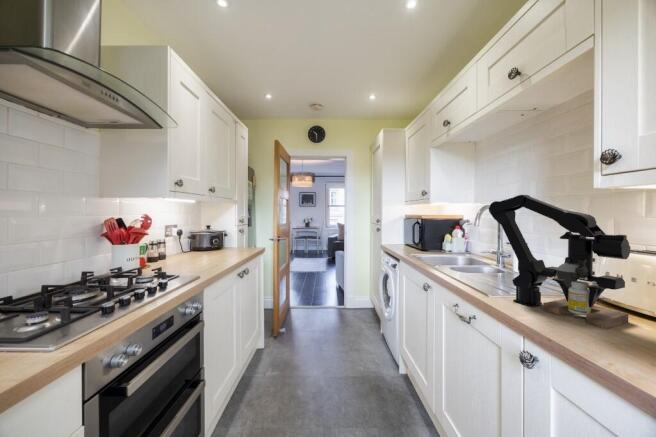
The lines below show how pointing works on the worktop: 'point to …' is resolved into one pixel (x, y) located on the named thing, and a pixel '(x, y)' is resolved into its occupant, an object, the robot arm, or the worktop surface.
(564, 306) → the notched board
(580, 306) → the supplement bottle
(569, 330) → the worktop surface
